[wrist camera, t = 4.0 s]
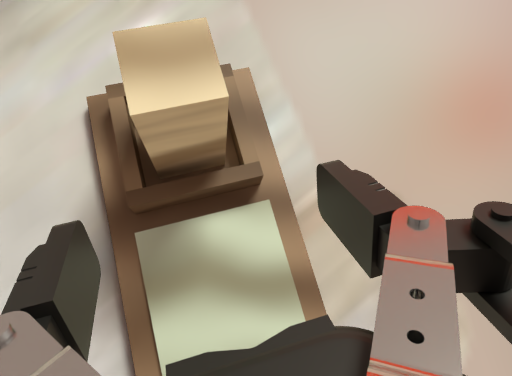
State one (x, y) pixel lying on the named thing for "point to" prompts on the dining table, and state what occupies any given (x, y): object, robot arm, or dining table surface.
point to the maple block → (175, 94)
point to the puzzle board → (202, 237)
